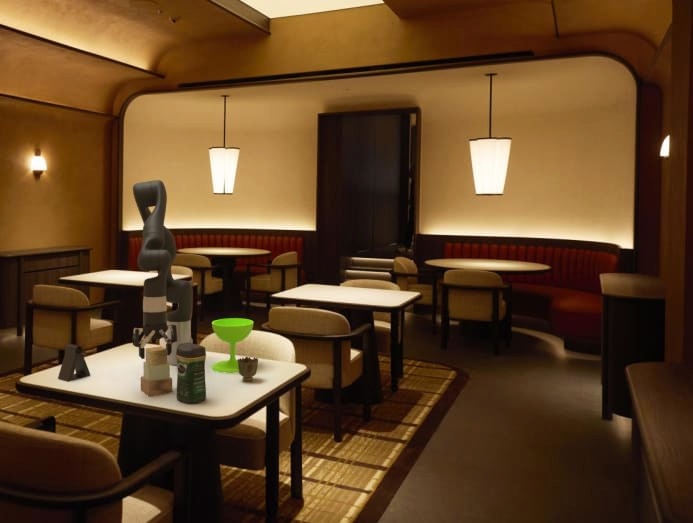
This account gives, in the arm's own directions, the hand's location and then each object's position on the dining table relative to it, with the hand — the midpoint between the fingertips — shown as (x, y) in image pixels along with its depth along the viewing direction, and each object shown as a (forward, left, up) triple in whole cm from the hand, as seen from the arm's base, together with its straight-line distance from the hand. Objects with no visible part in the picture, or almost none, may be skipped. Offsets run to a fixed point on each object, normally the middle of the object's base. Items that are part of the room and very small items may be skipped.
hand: (155, 356), depth 199 cm
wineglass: (-35, -14, -12) cm, 40 cm away
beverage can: (-25, -57, -12) cm, 63 cm away
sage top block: (0, -1, -7) cm, 7 cm away
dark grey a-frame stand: (+19, -32, -12) cm, 39 cm away
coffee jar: (-7, +14, -12) cm, 20 cm away
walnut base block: (0, 0, -12) cm, 12 cm away
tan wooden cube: (0, 0, -2) cm, 2 cm away
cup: (-32, +5, -12) cm, 35 cm away
